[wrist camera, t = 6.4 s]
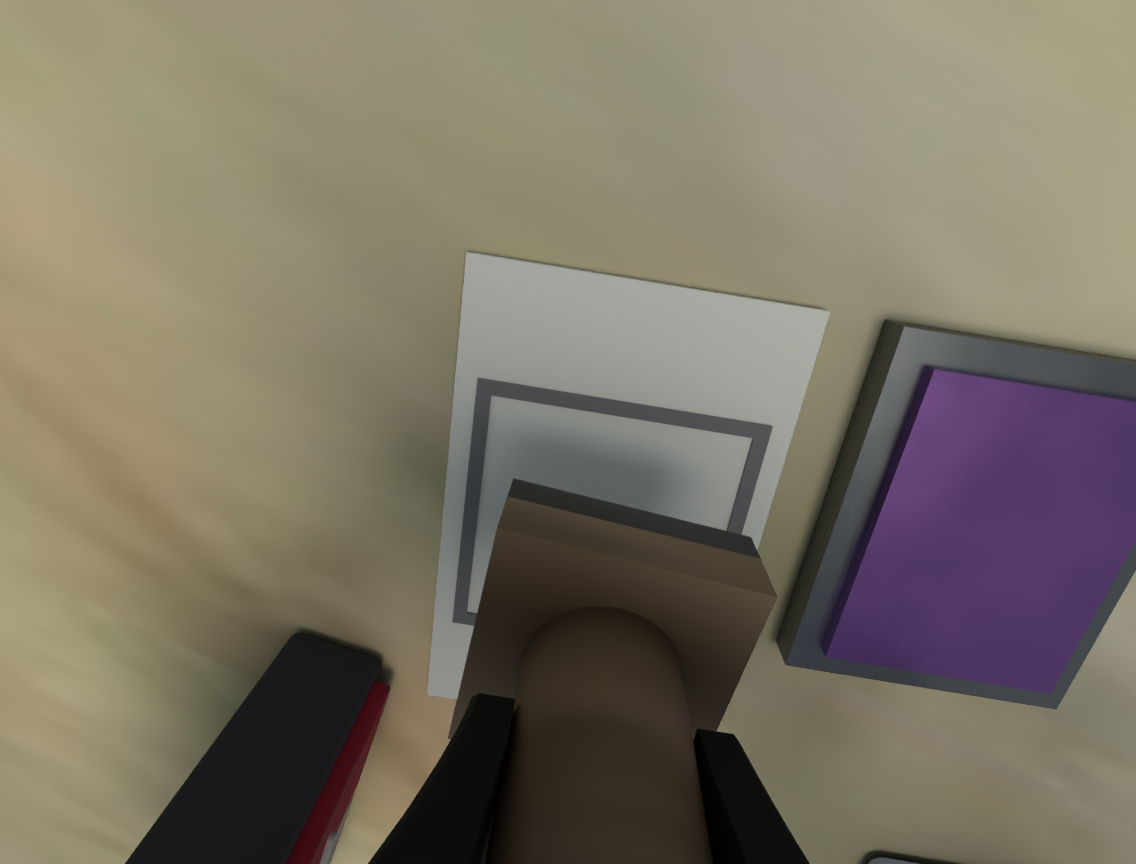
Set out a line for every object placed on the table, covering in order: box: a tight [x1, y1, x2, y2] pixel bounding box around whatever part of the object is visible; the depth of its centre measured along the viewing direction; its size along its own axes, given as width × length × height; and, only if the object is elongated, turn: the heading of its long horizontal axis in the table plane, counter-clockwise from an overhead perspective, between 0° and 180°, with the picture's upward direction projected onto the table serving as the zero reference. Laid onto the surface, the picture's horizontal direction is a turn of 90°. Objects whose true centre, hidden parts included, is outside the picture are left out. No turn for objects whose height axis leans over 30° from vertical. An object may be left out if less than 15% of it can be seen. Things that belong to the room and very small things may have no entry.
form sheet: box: [427, 251, 830, 700], centre depth 17 cm, size 14×9×1 cm, turn 171°
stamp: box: [448, 478, 777, 864], centre depth 10 cm, size 5×5×7 cm
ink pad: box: [777, 319, 1136, 709], centre depth 16 cm, size 10×8×1 cm
